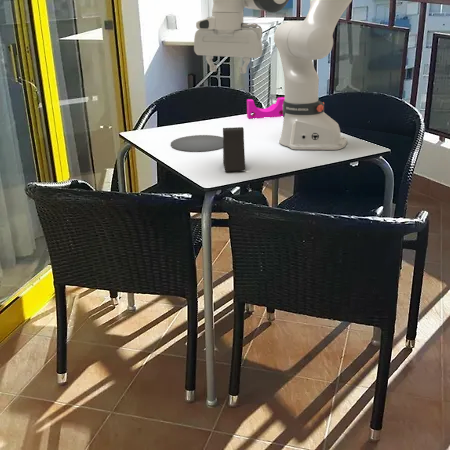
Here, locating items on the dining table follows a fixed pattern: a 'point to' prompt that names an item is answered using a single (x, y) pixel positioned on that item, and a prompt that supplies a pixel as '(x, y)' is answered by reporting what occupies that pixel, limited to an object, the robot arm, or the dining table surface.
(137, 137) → the dining table surface
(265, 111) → the toy block
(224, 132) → the phone stand
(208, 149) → the mat
